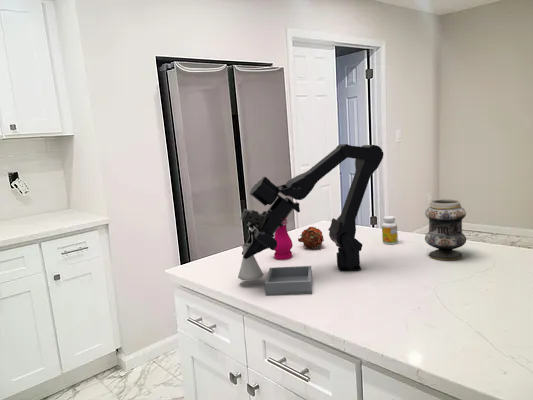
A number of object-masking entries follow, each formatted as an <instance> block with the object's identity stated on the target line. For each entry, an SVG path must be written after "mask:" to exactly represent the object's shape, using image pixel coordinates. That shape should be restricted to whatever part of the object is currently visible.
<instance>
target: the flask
mask: <svg viewBox="0 0 533 400" xmlns="http://www.w3.org/2000/svg"><path fill="white" fill-rule="evenodd" d="M249 245H250V244H246V243H243V244H242V245H241V248H242V252H243V255H242V261H241V264H240V268H239V272H238V277H237V278H238V279H239V280H241V281H248V282H249V281H250V282H252V281H255V280H258V279H261V278H262V276H264V273H263V271H262V269H261V267H260V265H259V263H258V261H257V259H256V258H255V255H253V256H251V257H249V258H247V259H245V258H244V257H243V256H244V254H245V252H246V251H247V249H248V247H249Z"/></svg>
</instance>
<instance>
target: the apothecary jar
mask: <svg viewBox="0 0 533 400" xmlns="http://www.w3.org/2000/svg"><path fill="white" fill-rule="evenodd" d="M424 212H425V213H424V214H425V217H426V218H427V219H428V223H429V224H428V225H429V226H428V232H427V233H426V234H425V236H424V241H425V242H426V244H427V245H429V246H430V247H432V248H435V250H432V251H430V252H429V253H428V256H429V257H430V258H431V259H435V260H438V261H456V260H461V259H462V258H463V257H464V256H463V253H461V252H459V251H458V250H455V249H459V248H461V247H463V246H464V245H465V244H466V243H467V237H466V235H465V234H464V233H463V219H464V218H465V217H466V216H467V211H466V210H465V209H464V208H463V207H462V205H461V201H460V200H458V199H453V198H437V199H432V200H431V201H430V205H429V207H427V208H426V209H425V211H424Z"/></svg>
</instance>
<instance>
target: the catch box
mask: <svg viewBox="0 0 533 400" xmlns="http://www.w3.org/2000/svg"><path fill="white" fill-rule="evenodd" d="M312 270H313V269H312V265H302V266H301V265H300V266H298V265H297V266H282V267H281V266H279V267H269V269H268V272H267V275H266V278H265V281H264V289H265V296H283V295H284V296H286V295H290V296H291V295H312V294H313V271H312Z"/></svg>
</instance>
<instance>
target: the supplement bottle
mask: <svg viewBox="0 0 533 400" xmlns="http://www.w3.org/2000/svg"><path fill="white" fill-rule="evenodd" d="M395 221H396V216H394V215H393V216H392V215H385V216H383V223H382V224H381V233H382V235H381V237H382V243H383V244H384V245H391V246H393V245H396V244H398V242H399V238H398V237H399V236H398V235H399V234H398V223H397V222H395Z"/></svg>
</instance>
